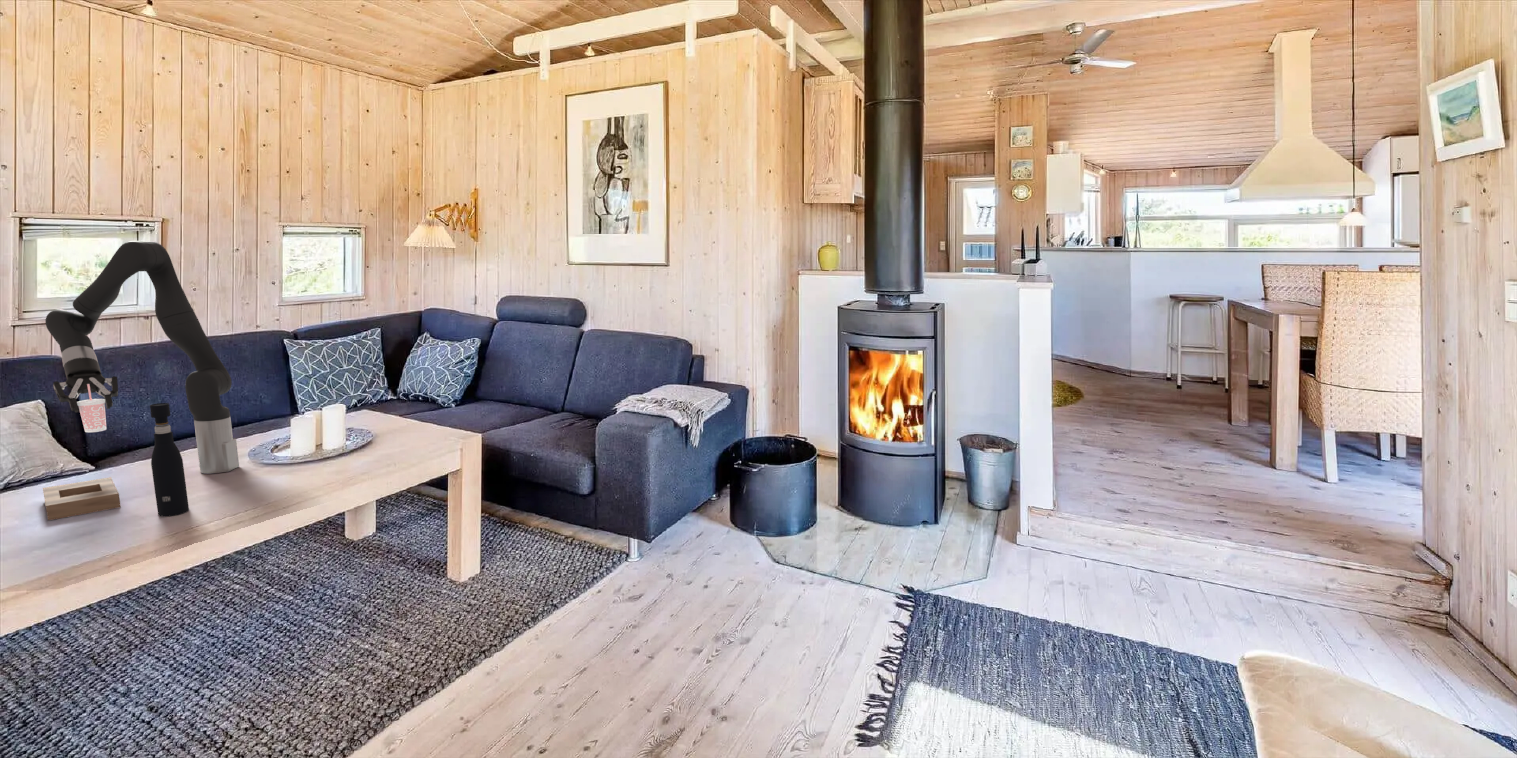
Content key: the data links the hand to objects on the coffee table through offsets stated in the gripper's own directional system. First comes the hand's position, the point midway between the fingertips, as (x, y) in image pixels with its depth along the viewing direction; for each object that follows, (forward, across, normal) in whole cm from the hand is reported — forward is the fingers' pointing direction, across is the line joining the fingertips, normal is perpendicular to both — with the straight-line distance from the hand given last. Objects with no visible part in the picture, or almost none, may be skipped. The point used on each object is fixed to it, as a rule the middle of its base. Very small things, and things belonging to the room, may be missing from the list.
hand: (93, 408), depth 199 cm
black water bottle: (+46, +9, -11) cm, 48 cm away
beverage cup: (+4, 0, +6) cm, 7 cm away
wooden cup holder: (+27, -6, +7) cm, 29 cm away
